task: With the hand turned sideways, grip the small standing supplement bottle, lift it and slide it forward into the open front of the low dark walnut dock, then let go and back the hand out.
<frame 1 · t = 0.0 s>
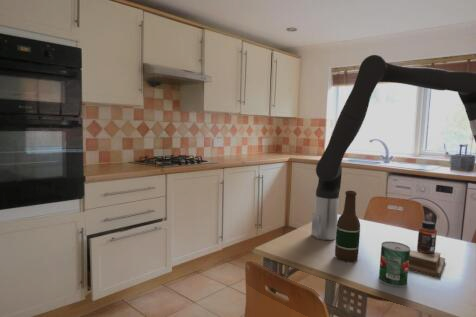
walnut dock: (418, 263, 114), on the table
beer bottle: (346, 258, 117), on the table
canned tomato: (392, 281, 101), on the table
supplement bottle: (425, 251, 127), on the table
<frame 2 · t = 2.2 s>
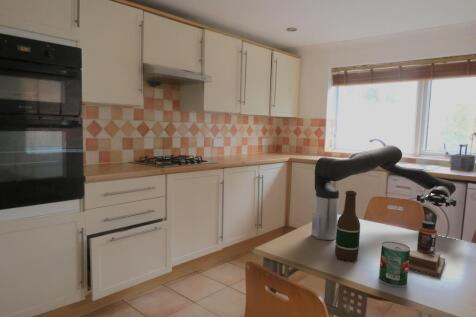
hand: (434, 202, 134), 17 cm above the table, tool horizontal, fingers open, 8 cm apart
nothing on the table moved.
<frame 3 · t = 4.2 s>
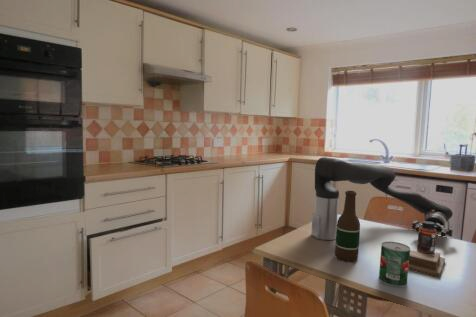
hand: (429, 232, 131), 6 cm above the table, tool horizontal, fingers open, 8 cm apart
nothing on the table moved.
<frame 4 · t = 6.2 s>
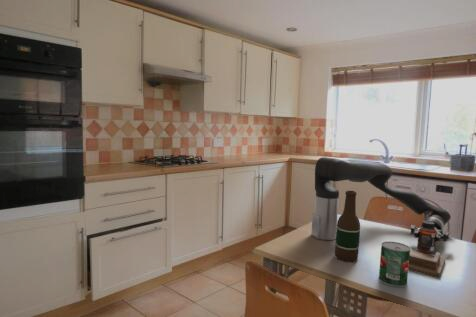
hand: (426, 237, 124), 6 cm above the table, tool horizontal, fingers closed on supplement bottle, 6 cm apart
supplement bottle: (425, 251, 127), on the table, touching gripper
everything else where it was.
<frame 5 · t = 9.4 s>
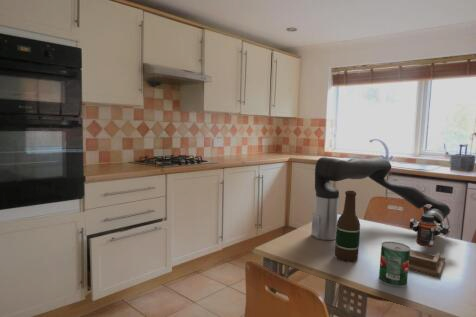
hand: (425, 231, 122), 9 cm above the table, tool horizontal, fingers closed on supplement bottle, 6 cm apart
supplement bottle: (425, 245, 124), point 3 cm above the table, touching gripper
everything else where it was.
when the fingers open (9 cm above the table, at t = 12.8 s): supplement bottle drops 2 cm, resting on walnut dock.
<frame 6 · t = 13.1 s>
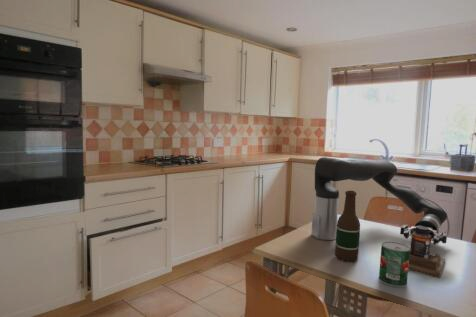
hand: (420, 238, 112), 9 cm above the table, tool horizontal, fingers open, 8 cm apart
supplement bottle: (418, 259, 114), point 1 cm above the table, touching walnut dock
everything else where it was.
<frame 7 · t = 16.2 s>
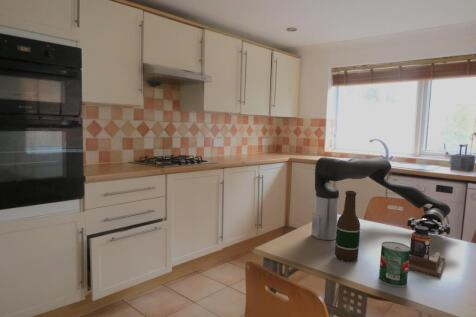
hand: (426, 229, 122), 10 cm above the table, tool horizontal, fingers open, 8 cm apart
nothing on the table moved.
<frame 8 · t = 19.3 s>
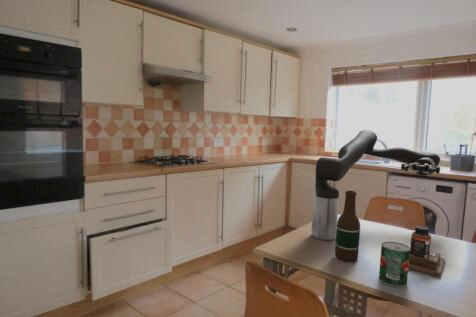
hand: (417, 169, 135), 30 cm above the table, tool horizontal, fingers open, 8 cm apart
nothing on the table moved.
at the end: supplement bottle 0.1 cm off-centre on the walnut dock, point 1.3 cm above the walnut dock's base; supplement bottle tilted 0°; the gripper is holding nothing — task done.
